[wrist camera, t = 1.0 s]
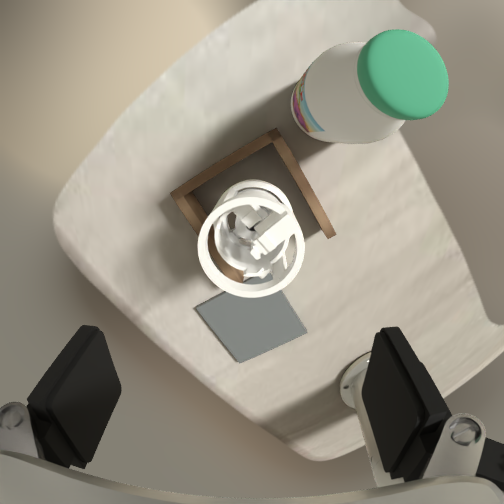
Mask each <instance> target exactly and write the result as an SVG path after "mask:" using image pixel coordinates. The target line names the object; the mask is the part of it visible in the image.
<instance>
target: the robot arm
mask: <svg viewBox="0 0 504 504" xmlns="http://www.w3.org/2000/svg"><path fill="white" fill-rule="evenodd" d="M339 388H340V394H341V397H342V400H343V401H344V403H345V404H347V405H348V406H349V407H351V408H353V409H356V412H357V416H358V419H359V423H360V426H361V430H362V433H363V437H364V441H365V444H366V448H367V452H368V455H369V459H370V463H371V467H372V471H373V475H374V479H375V482H376V484H377V486H378V488H373V489H367V490H361V491H354V492H346V493H339V494H331V495H322V496H311V497H296V498H270V499H269V498H266V499H254V498H253V499H252V498H250V499H249V498H224V497H209V496H198V495H189V494H180V493H172V492H166V491H160V490H154V489H148V488H143V487H138V486H133V485H128V484H124V483H119V482H115V481H111V480H107V479H103V478H99V477H96V476H92V475H88V474H85V473H82V472H79V471H75V470H72V469H69V467H70V465H73V466H76V467H79V468H82V469H85V467H86V464H87V462H88V463H89V462H91V461H92V459H93V456H94V454H95V451H96V449H97V447H98V444H99V442H100V440H101V437H102V435H103V433H104V430H105V428H106V426H107V424H108V421H109V419H110V417H111V415H112V412H113V410H114V408H115V406H116V403H117V401H118V399H119V397H120V395H121V384H120V381H119V378H118V376H117V373H116V370H115V367H114V364H113V361H112V358H111V355H110V353H109V349H108V346H107V343H106V340H105V336H104V334H103V332H102V331H100V330H99V328H98V327H96V326H87V325H82V326H81V327H80V328H79V329H78V331H77V332H76V333H75V335H74V336H73V337H72V338H71V340H70V341H69V342H68V344H67V345H66V346H65V348H64V349H63V350H62V351H61V353H60V354H59V355H58V357H57V358H56V359H55V361H54V362H53V363H52V365H51V366H50V367H49V369H48V370H47V371H46V373H45V374H44V376H43V377H42V378H41V380H40V381H39V383H38V384H37V385H36V387H35V388H34V390H33V391H32V393H31V394H30V395H29V397H28V398H27V401H28V402H29V404H28V405H27V407H26V406H25V405H24V404H22V403H20V402H9V403H7V404H5V405H3V406H2V407H1V408H0V504H504V444H502V443H499V442H496V441H494V440H491V439H488V438H486V430H485V427H484V425H483V424H482V422H481V421H480V420H479V419H478V418H476V417H475V416H472V415H470V414H465V413H463V414H456V415H454V416H452V415H451V412H450V410H449V409H448V407H447V405H446V403H445V401H444V399H443V398H442V396H441V394H440V392H439V390H438V389H437V387H436V385H435V383H434V382H433V380H432V378H431V376H430V375H429V373H428V371H427V370H426V368H425V366H424V365H423V363H422V362H420V361H419V359H418V358H417V356H416V354H415V353H414V351H413V349H412V348H411V346H410V344H409V343H408V341H407V340H406V338H405V336H404V335H403V333H402V331H401V330H400V328H399V327H387V328H382V329H381V330H380V332H378V333H376V335H375V338H374V343H373V347H372V351H371V352H370V353H368V354H366V355H364V356H362V357H361V358H359V359H358V360H357V361H355V362H354V363H353V364H352V365H351V366H350V367H349V368H348V369H347V370H346V372H345V373H344V375H343V377H342V379H341V382H340V387H339Z"/></svg>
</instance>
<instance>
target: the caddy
mask: <svg viewBox="0 0 504 504" xmlns="http://www.w3.org/2000/svg"><path fill="white" fill-rule="evenodd" d="M271 142H272V143H273V145H274V147H275V148H276V150H277V151H278V153H279V155H280V157H281V158H282V160H283V162H284V163H285V165H286V167H287V168H288V170H289V172H290V174H291V175H292V177H293V179H294V180H295V182H296V184H297V186H298V187H299V189H300V191H301V193H302V194H303V196H304V198H305V200H306V202H307V203H308V205H309V207H310V209H311V211H312V212H313V214H314V216H315V218H316V220H317V222H318V223H319V225H320V227H321V229H322V231H323V232H324V234H325V235H326V237H327V239H329V238H331V237H333V236H335V235H336V233H335V231H334V229H333V227H332V225H331V223H330V221H329V219H328V217H327V215H326V213H325V212H324V210H323V208H322V206H321V204H320V202H319V200H318V199H317V197H316V195H315V193H314V191H313V189H312V188H311V186H310V184H309V182H308V180H307V179H306V177H305V175H304V173H303V172H302V170H301V168H300V166H299V165H298V163H297V161H296V159H295V158H294V156H293V154H292V153H291V151H290V149H289V148H288V146H287V144H286V143H285V141H284V139H283V138H282V136H281V134H280V133H279V131H278V129H277V128H275V129H273V130H271V131H269V132H268V133H266V134H264V135H262V136H261V137H259V138H257V139H255V140H254V141H252V142H250V143H249V144H247V145H245V146H243V147H242V148H240V149H238V150H237V151H235V152H233V153H232V154H230V155H229V156H227V157H225V158H224V159H222V160H220V161H219V162H217V163H216V164H214V165H212V166H211V167H209V168H208V169H206V170H204V171H203V172H201V173H200V174H198V175H197V176H195V177H194V178H192V179H191V180H189V181H187V182H186V183H184V184H183V185H181V186H180V187H178V188H177V189H175V190H174V191H172V192H171V193H170V194H171V196H172V197H173V199H174V201H175V202H176V204H177V205H178V207H179V208H180V210H181V211H182V213H183V214H184V216H185V217H186V219H187V220H188V222H189V223H190V225H191V226H192V228H193V229H194V231H195V232H196V234H197V235H198V237H199V234H200V231H201V228H202V226H203V224H204V222H205V221H206V219H207V218H208V216H207V214H206V213H205V211H204V210H203V208H202V207H201V205H200V203H199V202H198V200H197V199H196V197H195V196H194V194H193V193H192V190H194V189H195V188H197V187H199V186H200V185H202V184H203V183H205V182H206V181H208V180H210V179H211V178H213V177H214V176H216V175H218V174H219V173H221V172H222V171H224V170H226V169H227V168H229V167H231V166H232V165H234V164H236V163H237V162H239V161H241V160H242V159H244V158H246V157H247V156H249V155H251V154H252V153H254V152H256V151H258V150H259V149H261V148H263V147H264V146H266V145H268V144H270V143H271ZM207 244H208V251H209V253H210V254H211V256H212V257H213V259H214V260H215V262H216V263H217V265H218V266H219V268H220V269H221V271H222V272H223V273H224V275H225V276H226V277H227V278H229V279H231V280H233V281H235V282H238V283H242V284H243V278H244V276H243V273H244V271H242V270H239V269H236V268H234V267H233V266H231V265H229V264H228V263H227V262H226V261H225V260H224V259H223V258H222V257H221V255H220V254H219V252H218V250H217V247H216V244H215V230H214V225H213V224H212V225H211V227H210V230H209V234H208V241H207Z"/></svg>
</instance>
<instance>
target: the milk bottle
mask: <svg viewBox="0 0 504 504" xmlns="http://www.w3.org/2000/svg"><path fill="white" fill-rule="evenodd" d="M447 93H448V74H447V70H446V67H445V64H444V62H443V60H442V58H441V56H440V55H439V53H438V52H437V51H436V49H435V48H434V47H433V46H432V45H431V44H430V43H429V42H428V41H426V40H425V39H424V38H422V37H421V36H419V35H417V34H415V33H413V32H410V31H406V30H388V31H384V32H382V33H379V34H378V35H376V36H374V37H373V38H372V39H370V40H369V41H368V42H367V43H363V42H349V43H344V44H339V45H337V46H334V47H332V48H330V49H328V50H326V51H325V52H323V53H322V54H321V55H320V56H319V57H318V58H317V59H316V60H315V61H314V62H313V63H312V64H311V65H310V66H309V68H308V69H307V70H306V72H305V73H304V74H303V76H302V77H301V79H300V80H299V81H298V83H297V85H296V86H295V88H294V90H293V93H292V97H291V111H292V115H293V117H294V120H295V122H296V123H297V125H298V126H299V127H300V128H301V130H302V131H304V132H305V133H306V134H307V135H309V136H311V137H312V138H314V139H317V140H321V141H325V142H334V143H347V144H366V143H372V142H376V141H379V140H382V139H385V138H387V137H388V136H390V135H392V134H393V133H394V132H396V131H397V130H398V129H399V128H400V127H401V126H402V125H403V123H404V122H405V121H406V120H417V119H423V118H426V117H428V116H431V115H432V114H434V113H435V112H436V111H438V110H439V109H440V108H441V106H442V105H443V103H444V101H445V99H446V97H447Z"/></svg>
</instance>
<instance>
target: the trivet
mask: <svg viewBox="0 0 504 504" xmlns="http://www.w3.org/2000/svg"><path fill="white" fill-rule="evenodd" d="M271 280H273V276H272V275H271V273H268V274H267V275H266V276H265V277H264V278H263V279H261V278H260V277H259V276H256V277H251V278H249V279H247V280H245V281H243V284H250V285H254V284H262V283H266V282H268V281H271ZM196 309H197V310H198V312H199V313H200V314H201V316H202V317H203V318H204V320H205V321H206V322H207V323H208V325H209V326H210V327H211V329H212V330H213V331H214V332H215V334H216V335H217V336H218V337H219V339H220V340H221V341H222V342H223V344H224V345H225V346H226V347H227V349H228V350H229V351H230V352H231V353H232V355H233V356H234V357H235V358H236V360H237V361H238V362H239V363H242V362H244V361H247V360H249V359H251V358H254V357H256V356H258V355H261V354H263V353H265V352H267V351H269V350H272V349H274V348H276V347H278V346H280V345H283V344H285V343H287V342H289V341H291V340H293V339H295V338H298V337H300V336H302V335H304V334H306V333H307V330H306V328H305V327H304V325H303V324H302V322H301V320H300V319H299V317H298V316H297V314H296V313H295V311H294V309H293V308H292V306H291V305H290V303H289V301H288V300H287V298H286V297H285V295H284V294H283V292H282V290H279V291H277V292H275V293H273V294H270V295H267V296H263V297H256V298H247V297H240V296H236V295H233V294H230V293H228V292H226V291H224V292H222V293H220V294H218V295H217V296H215V297H213V298H211V299H209V300H207V301H205V302H203V303H201V304H199V305H197V307H196Z"/></svg>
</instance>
